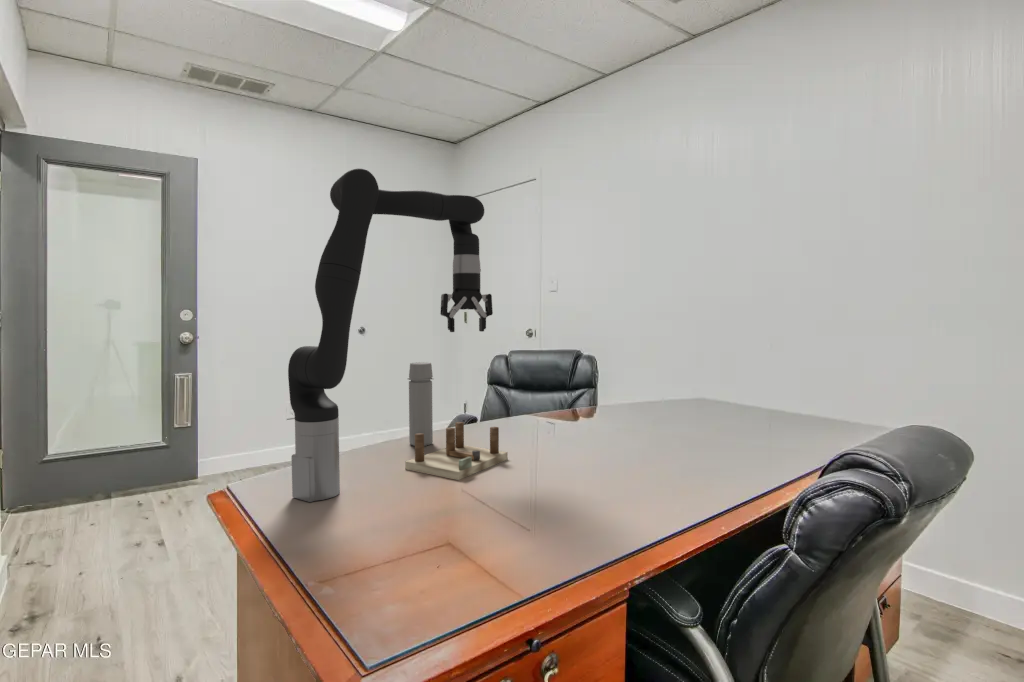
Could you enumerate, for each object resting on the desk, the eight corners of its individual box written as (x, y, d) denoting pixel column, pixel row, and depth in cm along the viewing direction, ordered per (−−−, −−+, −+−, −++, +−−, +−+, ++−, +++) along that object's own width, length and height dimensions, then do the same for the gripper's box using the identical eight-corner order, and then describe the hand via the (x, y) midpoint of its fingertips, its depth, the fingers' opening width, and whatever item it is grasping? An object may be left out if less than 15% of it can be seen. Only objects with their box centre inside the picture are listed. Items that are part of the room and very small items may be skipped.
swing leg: (481, 458, 145) (481, 432, 145) (476, 460, 143) (476, 433, 143) (449, 452, 151) (449, 427, 150) (444, 454, 149) (444, 428, 148)
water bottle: (431, 447, 166) (431, 364, 165) (405, 447, 166) (404, 364, 165) (436, 440, 175) (436, 361, 174) (412, 439, 175) (411, 361, 174)
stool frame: (458, 480, 134) (458, 443, 134) (405, 469, 143) (405, 434, 143) (507, 459, 153) (507, 427, 152) (457, 450, 162) (457, 420, 161)
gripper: (486, 273, 157) (486, 330, 158) (437, 272, 151) (438, 331, 152) (495, 272, 150) (496, 331, 151) (445, 270, 144) (445, 332, 145)
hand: (466, 331), depth 152 cm, fingers open, 8 cm apart
